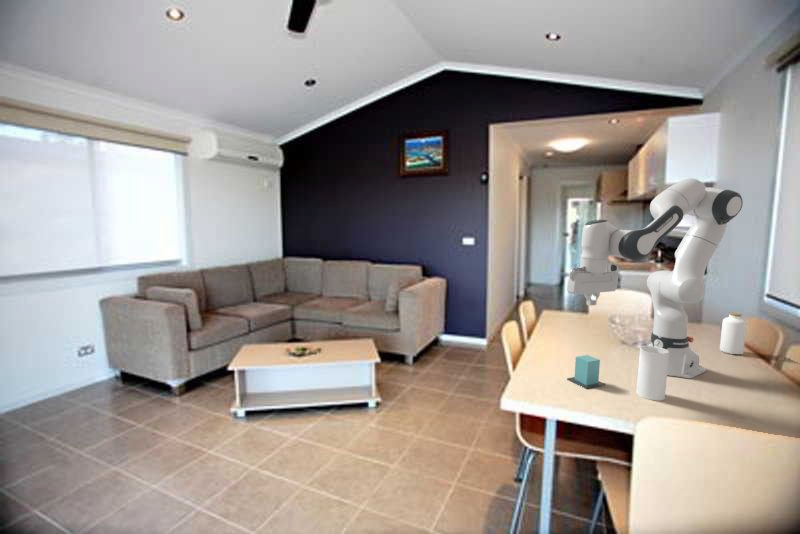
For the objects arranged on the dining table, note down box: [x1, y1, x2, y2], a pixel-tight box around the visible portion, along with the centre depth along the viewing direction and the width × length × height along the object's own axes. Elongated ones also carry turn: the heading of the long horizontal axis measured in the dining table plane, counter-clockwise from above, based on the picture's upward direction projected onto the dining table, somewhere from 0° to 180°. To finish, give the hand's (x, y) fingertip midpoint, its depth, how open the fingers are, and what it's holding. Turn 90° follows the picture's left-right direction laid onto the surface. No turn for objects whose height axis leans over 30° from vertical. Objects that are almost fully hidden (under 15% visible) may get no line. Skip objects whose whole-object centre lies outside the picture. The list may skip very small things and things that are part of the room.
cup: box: [636, 345, 669, 402], centre depth 137 cm, size 8×8×16 cm
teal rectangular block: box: [574, 354, 601, 385], centre depth 147 cm, size 6×6×9 cm
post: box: [566, 376, 606, 390], centre depth 148 cm, size 9×9×7 cm
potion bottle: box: [719, 312, 748, 355], centre depth 182 cm, size 8×8×18 cm
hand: (591, 305), depth 145 cm, fingers closed
